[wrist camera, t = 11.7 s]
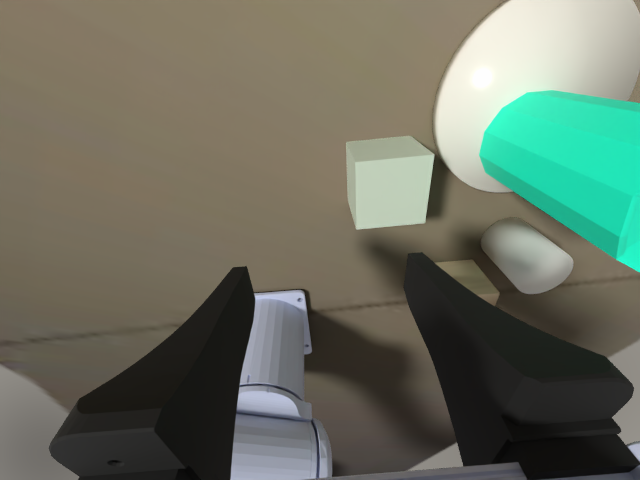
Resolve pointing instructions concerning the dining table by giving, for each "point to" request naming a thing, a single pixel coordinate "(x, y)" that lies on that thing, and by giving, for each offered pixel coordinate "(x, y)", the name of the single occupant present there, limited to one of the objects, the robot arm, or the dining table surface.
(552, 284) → the grey cylinder
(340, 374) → the dining table surface
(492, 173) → the candle
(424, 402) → the dining table surface
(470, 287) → the oak block
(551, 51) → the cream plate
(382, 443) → the dining table surface
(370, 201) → the sage block
